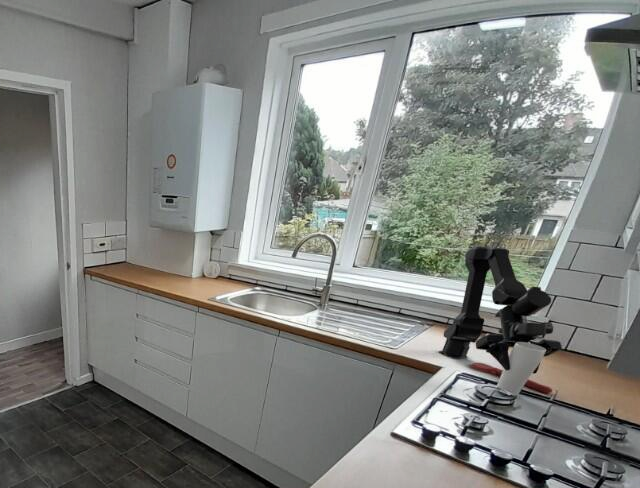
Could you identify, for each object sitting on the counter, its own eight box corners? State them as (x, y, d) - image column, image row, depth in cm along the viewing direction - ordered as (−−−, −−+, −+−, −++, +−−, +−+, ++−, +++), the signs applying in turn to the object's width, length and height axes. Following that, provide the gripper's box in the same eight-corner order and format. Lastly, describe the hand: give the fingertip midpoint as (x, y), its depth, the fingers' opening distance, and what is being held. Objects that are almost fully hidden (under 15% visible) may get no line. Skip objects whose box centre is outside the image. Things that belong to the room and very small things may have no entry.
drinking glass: (509, 388, 125) (534, 342, 118) (526, 399, 118) (553, 352, 112) (486, 385, 125) (509, 340, 118) (502, 396, 119) (527, 349, 112)
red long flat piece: (466, 366, 142) (469, 360, 141) (479, 365, 143) (481, 359, 143) (543, 395, 122) (546, 389, 121) (556, 393, 124) (559, 387, 123)
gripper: (497, 306, 117) (504, 356, 112) (574, 314, 114) (584, 365, 108) (472, 325, 127) (477, 370, 122) (541, 332, 124) (550, 379, 118)
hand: (521, 371), depth 117 cm, fingers closed on drinking glass, 6 cm apart
